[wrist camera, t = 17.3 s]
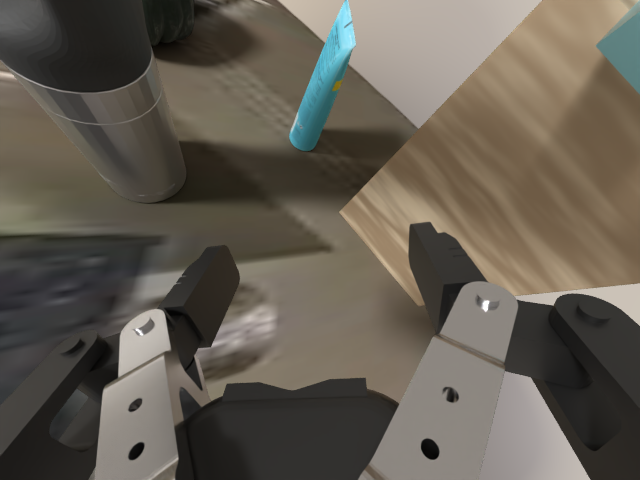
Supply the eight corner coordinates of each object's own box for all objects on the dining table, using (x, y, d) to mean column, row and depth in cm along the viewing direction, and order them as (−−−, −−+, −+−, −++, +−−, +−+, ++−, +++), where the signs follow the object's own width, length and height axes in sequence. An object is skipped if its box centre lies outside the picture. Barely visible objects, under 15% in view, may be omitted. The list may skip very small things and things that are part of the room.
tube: (319, 158, 44) (377, 49, 26) (292, 157, 42) (335, 39, 25) (312, 123, 46) (362, 0, 28) (286, 120, 44) (322, -13, 27)
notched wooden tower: (417, 305, 41) (968, 249, 10) (339, 212, 42) (639, -101, 11) (457, 255, 47) (875, 125, 17) (387, 174, 48) (667, -94, 17)
